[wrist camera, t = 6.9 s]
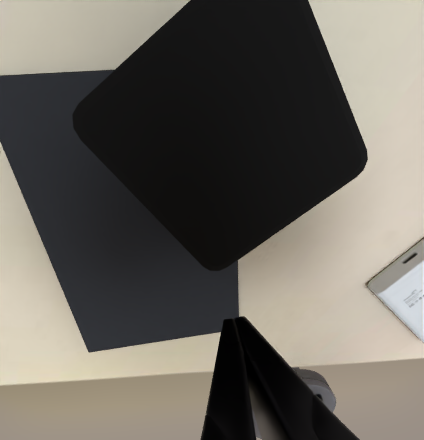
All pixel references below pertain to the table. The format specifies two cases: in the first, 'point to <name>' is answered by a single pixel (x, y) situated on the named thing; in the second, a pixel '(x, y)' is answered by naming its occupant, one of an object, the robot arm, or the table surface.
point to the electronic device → (226, 124)
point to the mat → (103, 226)
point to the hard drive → (404, 288)
